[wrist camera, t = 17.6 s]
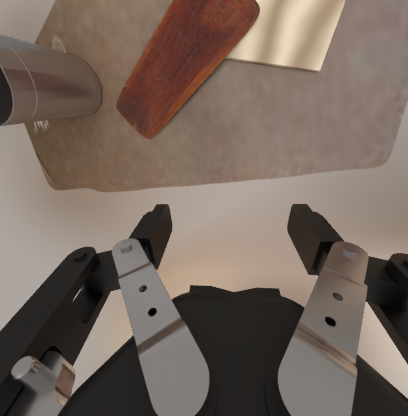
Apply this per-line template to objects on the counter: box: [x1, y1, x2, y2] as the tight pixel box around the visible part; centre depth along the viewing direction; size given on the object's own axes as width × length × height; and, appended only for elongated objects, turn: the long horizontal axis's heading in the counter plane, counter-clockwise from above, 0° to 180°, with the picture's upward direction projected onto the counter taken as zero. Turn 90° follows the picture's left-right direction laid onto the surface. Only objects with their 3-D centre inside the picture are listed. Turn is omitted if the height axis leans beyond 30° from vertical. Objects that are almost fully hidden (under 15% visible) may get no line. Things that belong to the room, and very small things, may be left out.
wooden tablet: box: [117, 0, 260, 139], centre depth 29 cm, size 27×10×2 cm, turn 133°
